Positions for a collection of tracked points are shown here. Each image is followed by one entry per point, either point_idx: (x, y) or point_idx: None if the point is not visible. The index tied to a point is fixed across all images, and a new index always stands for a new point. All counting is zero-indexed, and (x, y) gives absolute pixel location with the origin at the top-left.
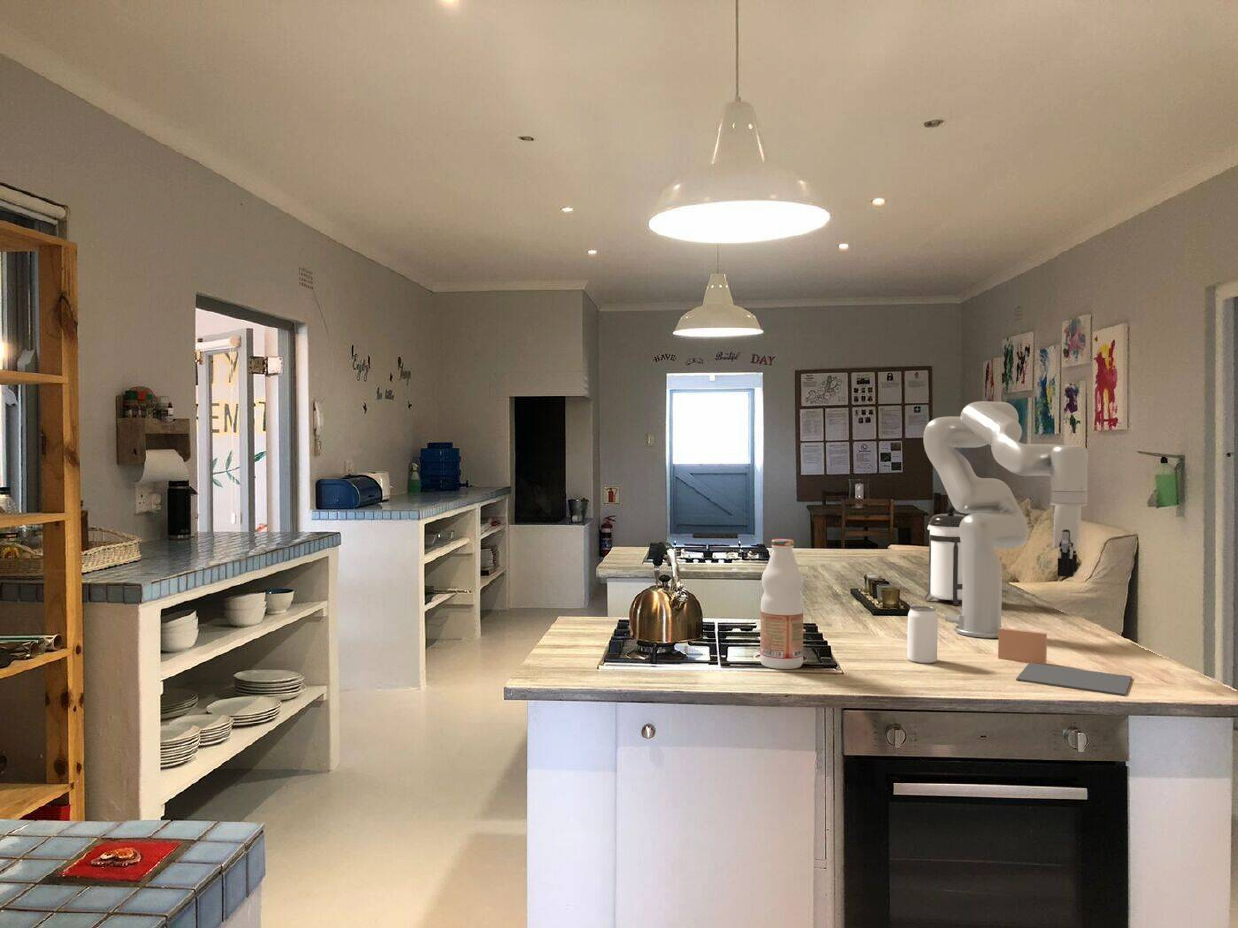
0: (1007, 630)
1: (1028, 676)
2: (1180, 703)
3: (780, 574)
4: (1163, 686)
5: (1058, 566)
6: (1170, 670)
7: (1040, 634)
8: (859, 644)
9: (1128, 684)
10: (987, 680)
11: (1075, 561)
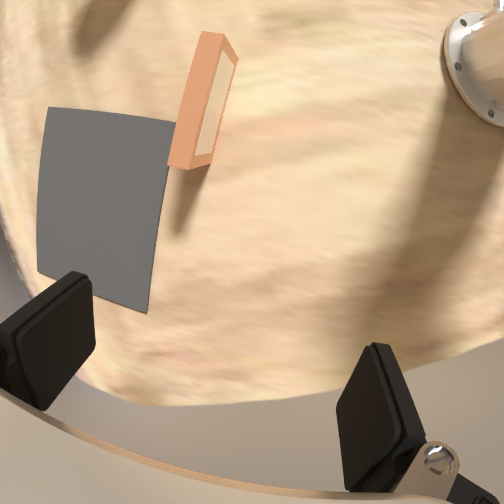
0: (195, 55)
1: (65, 125)
2: None
3: None
4: (118, 341)
5: (37, 300)
6: (241, 385)
7: (171, 149)
8: None
9: None
10: (40, 65)
11: (341, 453)
